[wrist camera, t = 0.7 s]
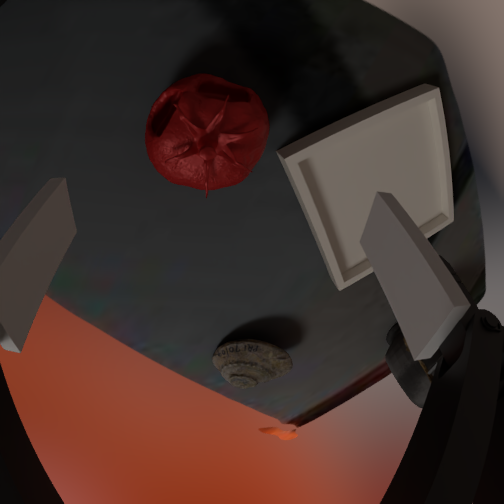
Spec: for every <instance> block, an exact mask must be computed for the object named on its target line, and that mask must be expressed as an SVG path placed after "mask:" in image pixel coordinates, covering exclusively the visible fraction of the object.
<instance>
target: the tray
mask: <svg viewBox="0 0 504 504" xmlns="http://www.w3.org/2000/svg"><path fill="white" fill-rule="evenodd" d="M276 152H277V154H278V156H279V159H280V161H281V163H282V165H283V167H284V169H285V172H286V174H287V176H288V178H289V180H290V183H291V185H292V187H293V189H294V192H295V194H296V196H297V198H298V201H299V203H300V205H301V207H302V210H303V212H304V214H305V217H306V219H307V221H308V224H309V226H310V228H311V231H312V233H313V235H314V238H315V240H316V242H317V245H318V247H319V250H320V252H321V255H322V257H323V259H324V262H325V264H326V267H327V269H328V272H329V274H330V277H331V279H332V281H333V282H334V284H335V285H336V287H337V288H338V290H339V291H340V290H342V289H344V288H345V287H347V286H349V285H351V284H352V283H354V282H356V281H358V280H359V279H361V278H363V277H365V276H366V275H368V274H370V273H371V272H373V271H374V270H373V268H372V266H371V264H370V262H369V260H368V258H367V256H366V254H365V252H364V250H363V248H362V246H361V244H360V239H361V236H362V234H363V231H364V228H365V225H366V222H367V219H368V216H369V213H370V210H371V207H372V204H373V201H374V198H375V195H376V192H377V191H378V192H386V193H392V195H393V196H394V197H395V198H396V199H397V201H398V202H399V203H400V204H401V206H402V207H403V208H404V210H405V211H406V212H407V213H408V215H409V216H410V217H411V219H412V220H413V221H414V222H415V224H416V225H417V226H418V228H419V229H420V230H421V232H422V233H423V234H424V236H425V237H426V239H427V238H428V237H430V236H431V235H433V234H435V233H436V232H438V231H439V230H441V229H442V228H444V227H445V226H447V225H448V224H450V223H451V222H453V221H454V211H453V189H452V175H451V164H450V154H449V145H448V138H447V130H446V124H445V117H444V111H443V106H442V100H441V95H440V90H439V87H435V86H432V85H428V84H425V83H424V84H422V85H419V86H417V87H414V88H412V89H409V90H407V91H405V92H402V93H400V94H397V95H395V96H393V97H390V98H388V99H385V100H383V101H381V102H379V103H376V104H374V105H372V106H369V107H367V108H365V109H363V110H360V111H358V112H356V113H354V114H352V115H349V116H347V117H345V118H343V119H341V120H338V121H336V122H334V123H332V124H330V125H328V126H326V127H324V128H322V129H320V130H317V131H315V132H313V133H311V134H309V135H307V136H305V137H303V138H301V139H299V140H297V141H295V142H293V143H291V144H289V145H287V146H285V147H283V148H281V149H279V150H277V151H276Z"/></svg>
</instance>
